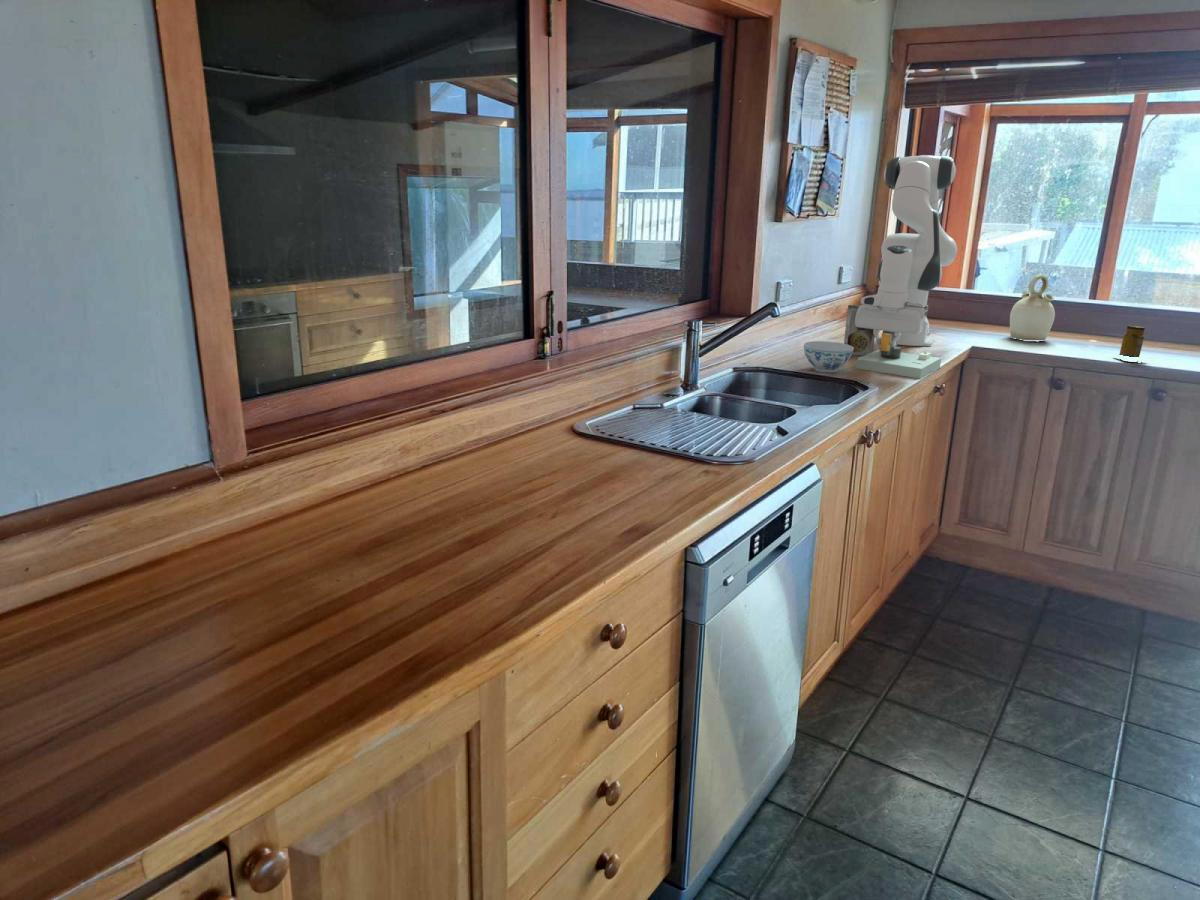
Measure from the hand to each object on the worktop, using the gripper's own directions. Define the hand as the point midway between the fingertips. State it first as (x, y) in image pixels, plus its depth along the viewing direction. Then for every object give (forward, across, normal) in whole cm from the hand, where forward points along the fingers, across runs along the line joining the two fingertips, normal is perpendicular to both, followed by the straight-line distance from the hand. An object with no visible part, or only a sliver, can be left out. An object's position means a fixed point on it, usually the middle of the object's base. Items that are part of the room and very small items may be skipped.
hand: (885, 345), depth 265 cm
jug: (+8, -25, -99) cm, 102 cm away
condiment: (+8, -61, -80) cm, 101 cm away
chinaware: (+8, +13, +14) cm, 21 cm away
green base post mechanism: (+8, -3, -7) cm, 11 cm away
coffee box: (+8, +15, -20) cm, 26 cm away
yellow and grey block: (+5, 0, -4) cm, 6 cm away
